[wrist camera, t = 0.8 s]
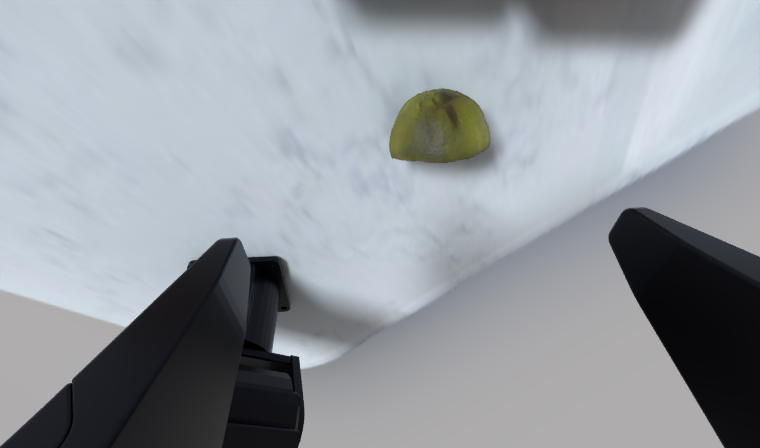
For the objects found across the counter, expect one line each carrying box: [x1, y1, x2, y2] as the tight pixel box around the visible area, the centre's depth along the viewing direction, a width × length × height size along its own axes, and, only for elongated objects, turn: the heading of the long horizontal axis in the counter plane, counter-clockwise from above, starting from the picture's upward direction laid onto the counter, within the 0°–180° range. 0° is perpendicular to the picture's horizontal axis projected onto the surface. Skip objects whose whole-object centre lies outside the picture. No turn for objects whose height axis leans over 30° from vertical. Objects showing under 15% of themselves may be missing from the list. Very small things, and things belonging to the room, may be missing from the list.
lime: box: [389, 88, 490, 163], centre depth 17 cm, size 4×5×5 cm
